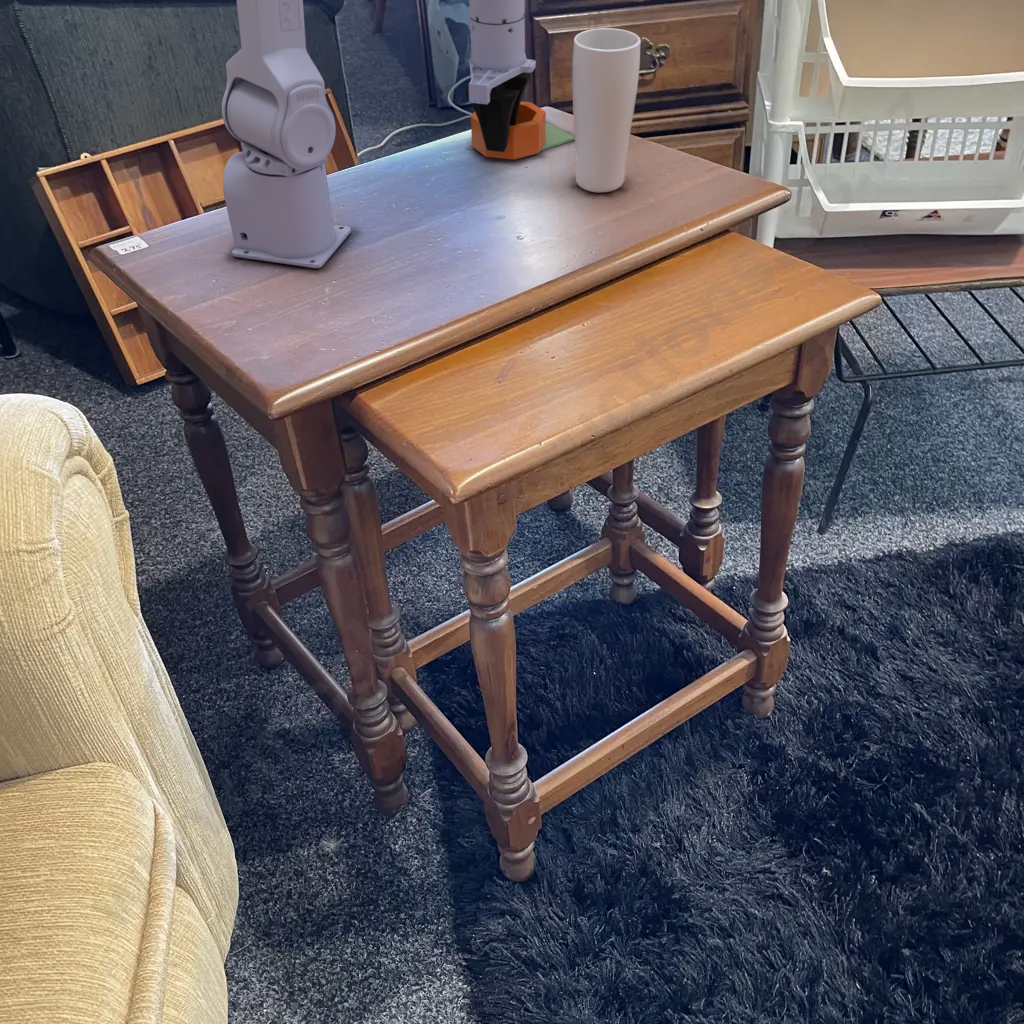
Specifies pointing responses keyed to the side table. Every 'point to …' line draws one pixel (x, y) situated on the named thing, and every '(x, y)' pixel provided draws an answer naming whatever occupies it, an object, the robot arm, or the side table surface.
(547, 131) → the mat
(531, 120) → the ring
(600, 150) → the drinking glass
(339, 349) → the side table surface
